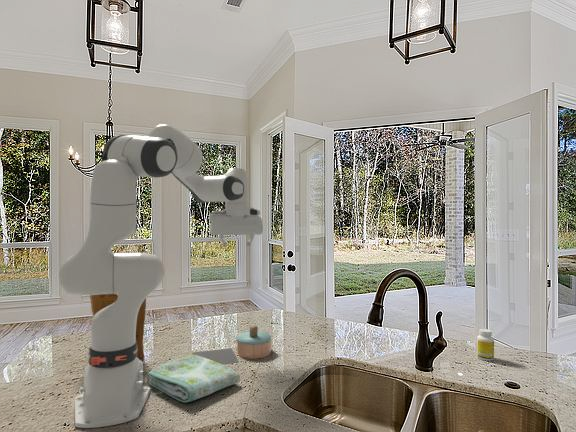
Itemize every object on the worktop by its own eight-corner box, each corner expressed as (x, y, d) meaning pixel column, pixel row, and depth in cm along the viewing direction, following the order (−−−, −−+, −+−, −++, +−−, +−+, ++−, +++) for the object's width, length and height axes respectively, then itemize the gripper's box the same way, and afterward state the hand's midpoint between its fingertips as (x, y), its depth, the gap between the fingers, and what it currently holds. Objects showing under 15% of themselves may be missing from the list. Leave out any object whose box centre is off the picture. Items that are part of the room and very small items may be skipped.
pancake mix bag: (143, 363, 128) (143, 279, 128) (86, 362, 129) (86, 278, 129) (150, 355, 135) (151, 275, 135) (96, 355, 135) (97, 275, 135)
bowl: (274, 357, 135) (274, 342, 135) (240, 360, 131) (240, 346, 131) (265, 345, 146) (265, 332, 146) (234, 349, 142) (234, 335, 142)
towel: (195, 365, 126) (195, 349, 126) (241, 384, 113) (241, 367, 112) (144, 384, 112) (144, 366, 112) (189, 409, 99) (189, 389, 98)
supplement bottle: (496, 361, 132) (496, 333, 132) (479, 360, 133) (479, 332, 133) (491, 356, 138) (491, 328, 137) (474, 354, 139) (475, 327, 139)
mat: (239, 363, 129) (239, 362, 129) (195, 368, 124) (195, 367, 124) (231, 349, 142) (231, 348, 142) (192, 353, 138) (192, 352, 138)
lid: (275, 342, 135) (275, 329, 135) (240, 346, 131) (240, 333, 131) (265, 332, 147) (265, 320, 147) (232, 335, 143) (233, 323, 143)
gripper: (210, 210, 143) (210, 247, 143) (264, 211, 150) (263, 246, 150) (208, 210, 149) (208, 246, 149) (260, 211, 156) (259, 245, 156)
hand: (236, 246), depth 149 cm, fingers open, 8 cm apart
